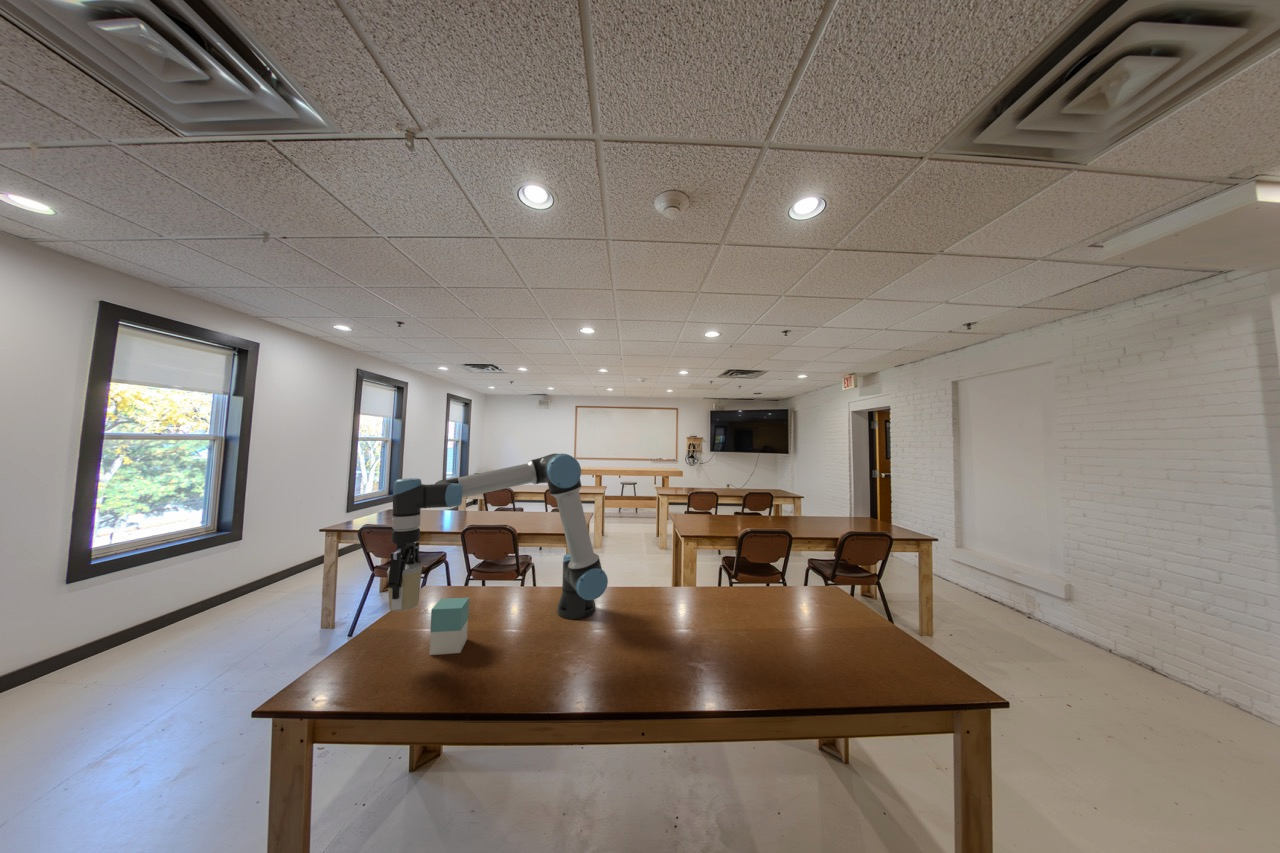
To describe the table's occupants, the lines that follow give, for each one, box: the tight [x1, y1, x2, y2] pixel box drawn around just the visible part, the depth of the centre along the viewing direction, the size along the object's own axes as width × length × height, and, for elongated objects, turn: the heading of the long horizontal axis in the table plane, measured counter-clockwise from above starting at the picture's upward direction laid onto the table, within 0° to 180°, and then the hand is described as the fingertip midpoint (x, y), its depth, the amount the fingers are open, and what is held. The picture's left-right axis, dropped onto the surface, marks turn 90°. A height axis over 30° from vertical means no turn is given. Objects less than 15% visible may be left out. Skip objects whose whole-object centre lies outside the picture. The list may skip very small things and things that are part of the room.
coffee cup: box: [386, 563, 423, 612], centre depth 122 cm, size 9×9×12 cm
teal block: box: [430, 597, 470, 633], centre depth 130 cm, size 9×9×7 cm
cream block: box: [429, 619, 469, 656], centre depth 129 cm, size 9×9×7 cm
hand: (404, 602), depth 122 cm, fingers closed on coffee cup, 8 cm apart
